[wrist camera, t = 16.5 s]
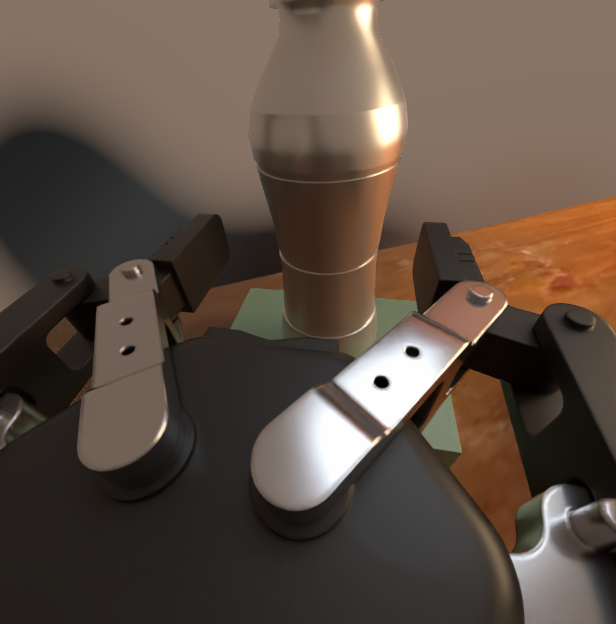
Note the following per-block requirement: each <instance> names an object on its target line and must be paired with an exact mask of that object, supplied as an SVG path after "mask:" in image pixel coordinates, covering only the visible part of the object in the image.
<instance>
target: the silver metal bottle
mask: <svg viewBox="0 0 616 624" xmlns="http://www.w3.org/2000/svg"><path fill="white" fill-rule="evenodd" d="M379 1H383V0H269V6H270V8H274V9H278V10H279V15H280V23H279V36H278V39H277V41H276V43H275V45H274V48H273V50H272V52H271V54H270V57H269V59H268V61H267V64H266V66H265V68H264V70H263V73H262V75H261V78H260V81H259V84H258V87H257V90H256V93H255V96H254V99H253V101H252V104H251V109H250V123H249V140H250V144H251V148H252V152H253V157H254V159H255V161H256V162H257V170H258V173H259V176H260V180H261V183H262V186H263V190H264V193H265V196H266V199H267V203H268V206H269V209H270V212H271V216H272V219H273V223H274V228H275V233H276V238H277V243H278V247H279V249H280V258H281V262H282V267H283V288H284V307H283V314H282V335H283V339H288V338H299V337H312V338H321V339H331V340H339V351H341V352H344V353H346V354H348V355H351V356H353V357H354V358H358V357H359V356H360V355H361V354H362V353H363V352H365V351H366V350H367V349H368V348H369V347H370V346H372V345H373V343H374V341H375V338H376V335H377V314H376V307H375V268H376V258H377V253H378V245H379V242H380V237H381V231H382V226H383V220H384V215H385V212H386V208H387V205H388V201H389V198H390V194H391V190H392V187H393V183H394V180H395V176H396V173H397V169H398V166H399V162H400V155H401V154H402V152H403V147H404V142H405V137H406V132H407V128H408V119H407V108H406V99H405V95H404V92H403V89H402V86H401V83H400V80H399V77H398V74H397V72H396V69H395V66H394V64H393V61H392V59H391V57H390V55H389V53H388V51H387V48H386V46H385V44H384V42H383V40H382V38H381V35H380V33H379V31H378V29H377V6H378V3H379Z"/></svg>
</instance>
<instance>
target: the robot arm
mask: <svg viewBox="0 0 616 624" xmlns="http://www.w3.org/2000/svg"><path fill="white" fill-rule="evenodd" d="M229 257H230V251H229V246H228V242H227V238H226V235H225V231H224V227H223V223H222V220H221V218H220V216H219V215H217V214H198V215H197V216H196V217H195V218H194V219H193V220H192V221H191V222H190V223H189V224H188V225H187V226H186V227H184V228H182V229H180V230H178V231H177V232H176V233H175V234H174V235H173V236H172V237H171V239H169V240H168V241H166V243H165V245H162V246H161V247H160V248H159V249H158V250H157V251H156V252H155V253H154V254H153V255H152V256H151V257H150V258H149V259H148V260H145V259H138V260H132V261H128V262H125V263H123V264H121V265H119V266H117V267H116V268H114V269H113V270H112V271H111V273H110V275H109V277H107V278H99V279H92V277H91V276H90V275H89V273H88V272H87V270H86V269H85V268H82V267H71V268H66V269H63V270H60V271H57V272H55V273H53V274H51V275H49V276H48V277H46V278H45V279H43V280H42V281H41V282H40V283H38V284H37V285H36V286H34V287H33V288H32V289H31V290H29V291H28V292H27V293H25V294H24V295H23V296H21V297H20V298H19V299H18V300H16V301H15V302H14V303H12V304H11V305H10V306H8V307H7V308H6V309H5V310H3V311H2V312H1V313H0V624H616V333H615V332H614V330H613V329H612V328H611V326H610V325H609V324H608V322H606V321H605V320H604V319H603V318H602V317H600V316H599V315H597V314H596V313H594V312H592V311H590V310H588V309H585V308H583V307H580V306H576V305H572V304H565V303H556V304H552V305H549V306H547V307H546V308H545V309H544V311H543V312H542V314H541V315H539V314H536V313H532V312H528V311H525V310H521V309H517V308H514V307H511V306H509V305H507V303H508V302H507V298H506V296H505V295H504V294H503V293H502V292H501V291H500V290H499V289H497V288H496V287H494V286H492V285H490V284H487V283H485V282H484V279H483V277H482V275H481V272H480V270H479V268H478V265H477V263H476V262H475V258H474V256H473V255H472V251H471V249H470V247H469V245H468V244H467V243H466V242H465V241H463V240H462V239H461V238H460V237H451V235H450V232H449V229H448V227H447V224H446V223H435V222H424V223H423V225H422V228H421V232H420V237H419V241H418V245H417V249H416V253H415V257H414V262H413V281H414V288H415V295H416V303H417V310H418V312H417V311H412V312H410V313H409V314H408V315H407V316H405V317H404V318H403V319H402V320H401V321H400V322H398V323H397V324H396V325H395V326H394V327H393V328H391V329H390V330H389V331H388V332H387V333H386V334H384V335H383V336H382V337H381V338H380V339H379V340H377V341H376V342H375V343H374V344H373V345H372V346H370V347H369V348H368V349H367V350H366V351H365V352H363V353H362V354H361V355H360V356H359V357H358V358H354V357H353V356H351V355H348V354H346V353H344V352H341V351H339V340H331V339H321V338H312V337H299V338H288V339H277V340H268V339H264V338H261V337H258V336H256V335H253V334H250V333H247V332H244V331H241V330H235V329H225V328H216V327H209V328H208V330H207V332H206V333H205V335H204V337H197V338H193V339H189V340H186V338H185V334H184V330H183V326H182V323H181V320H180V318H179V316H178V314H179V313H180V311H182V312H192V313H194V312H195V310H196V309H197V308H198V306H199V305H200V303H201V302H202V300H203V299H204V297H205V296H206V294H207V293H208V291H209V290H210V288H211V287H212V285H213V284H214V282H215V281H216V279H217V278H218V276H219V275H220V274H221V272H222V271H223V269H224V267H225V266H226V265H227V263H228V261H229ZM64 317H66V318H67V319H68V320H69V322H70V323H71V324H72V325H73V326H74V327H75V328H76V330H77V331H78V332H77V333H76V334H75V335H74V336H73V337H72V338H71V339H70V340H69V341H68V342H67V343H66V345H65V346H64V347H63V348H62V349H61V350H60V351H59V352H58V353H57V354H55V353H54V352H53V351H52V350H51V349H50V348H49V347H48V346H47V344H46V337H47V335H48V333H49V332H50V331H51V330H52V329H53V328H54V327H55V326H56V325H57V324H58V323H59V322H60V321H61V320H62V319H63V318H64ZM470 369H472V370H475V371H478V372H480V373H483V374H486V375H489V376H491V377H494V378H497V379H500V382H501V386H502V390H503V393H504V397H505V401H506V404H507V408H508V412H509V415H510V419H511V423H512V426H513V430H514V434H515V437H516V441H517V445H518V448H519V452H520V455H521V459H522V463H523V466H524V470H525V474H526V477H527V481H528V485H529V488H530V492H531V496H532V498H531V499H530V500H528V501H526V502H525V503H523V504H522V505H521V506H520V507H519V509H518V510H517V513H516V519H515V524H516V543H515V546H514V549H513V550H512V552H511V553H509V552H508V550H507V548H506V546H505V544H504V542H503V541H502V539H501V537H500V535H499V534H498V532H497V530H496V529H495V527H494V526H493V524H492V523H491V522H490V520H489V519H488V518H487V516H486V515H485V514H484V513H483V511H482V510H481V509H480V508H479V506H478V505H477V504H476V502H475V501H474V500H473V499H472V497H471V496H470V495H469V494H468V492H467V491H466V490H465V488H464V487H463V486H462V485H461V483H460V482H459V481H458V480H457V478H456V477H455V476H454V474H453V473H452V472H451V471H450V469H449V468H448V467H447V466H446V464H445V463H444V462H443V460H442V459H441V458H440V457H439V455H438V454H437V453H436V452H435V450H434V449H433V448H432V446H431V445H430V444H429V443H428V441H427V440H426V439H425V438H424V436H423V435H422V434H421V433H422V432H423V430H424V429H425V428H426V426H427V425H428V424H429V422H430V421H431V419H432V418H433V417H434V415H435V413H436V412H437V410H438V409H439V408H440V406H441V405H442V404H443V402H444V401H445V400H446V399H447V397H448V396H449V395H450V394H451V392H452V391H453V390H454V389H455V388H456V386H457V385H458V384H459V383H460V381H461V380H462V379H463V378H464V376H465V375H466V374H467V373H468V372H469V370H470ZM91 376H92V386H91V388H90V390H88V391H86V392H85V393H84V395H83V397H82V399H81V400H79V401H77V402H76V403H74V404H72V405H70V406H69V404H70V403H71V402H72V401H73V399H74V398H75V397H76V395H77V394H78V393H79V392H80V390H81V389H82V388H83V387H84V385H85V384H86V383H87V381H88V380H89V379H90V378H91ZM68 406H69V407H68Z"/></svg>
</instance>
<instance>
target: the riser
mask: <svg viewBox="0 0 616 624" xmlns="http://www.w3.org/2000/svg"><path fill="white" fill-rule="evenodd" d="M283 307H284V291H282V290H270V289H257V288H251V289H250V291H249V293H248V295H247V297H246V299H245V301H244V302H243V304H242V306H241V308H240V310H239V312H238V314H237V316H236V318H235V320H234V322H233V324H232V326H231V328H230V329H235V330H241V331H244V332H247V333H250V334H253V335H256V336H258V337H261V338H264V339H268V340H277V339H283V335H282V314H283ZM375 307H376V314H377V335H376V338H375V341H374V343H375V342H376V341H377V340H379V339H380V338H381V337H382V336H383V335H384V334H386V333H387V332H388V331H389V330H390V329H391V328H393V327H394V326H395V325H396V324H397V323H398V322H400V321H401V320H402V319H403V318H404V317H405V316H407V315H408V314H409V313H410V312H412V311H417V312H418V310H417V303H416V301H407V300H394V299H382V298H375ZM374 343H373V344H374ZM421 434H422V435H423V436H424V438H425V439H426V440H427V441H428V443H429V444H430V445H431V446H432V448H433V449H434V450H435V452H436V453H437V454H438V455H439V457H440V458H441V459H442V460H443V462H444V463H445V464H446V466H447V467H448V468H450V467H451V466H452V465H453V463H454V462H455V461H456V460H457V458H458V457H459V456H460V455H461V454H462V451H461V446H460V441H459V436H458V430H457V425H456V420H455V415H454V410H453V405H452V400H451V394H450V395H449V396H448V397H447V399H446V400H445V401H444V402H443V404H442V405H441V406H440V408H439V409H438V410H437V412H436V413H435V415H434V417H433V418H432V419H431V421H430V422H429V424H428V425H427V426H426V428H425V429H424V430H423V432H422V433H421Z"/></svg>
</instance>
